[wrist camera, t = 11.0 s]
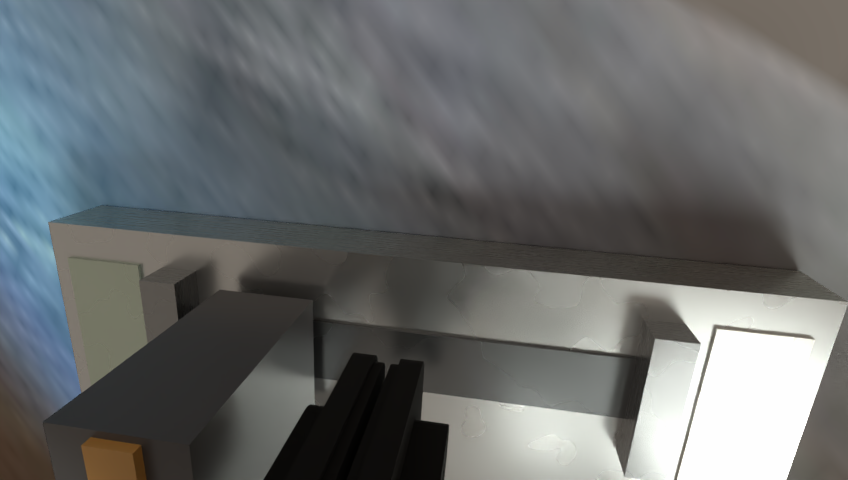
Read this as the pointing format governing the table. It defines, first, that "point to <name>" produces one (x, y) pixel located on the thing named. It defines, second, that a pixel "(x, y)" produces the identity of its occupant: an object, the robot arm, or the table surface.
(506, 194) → the table surface
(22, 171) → the table surface
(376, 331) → the panel
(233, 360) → the orange striped slider handle
